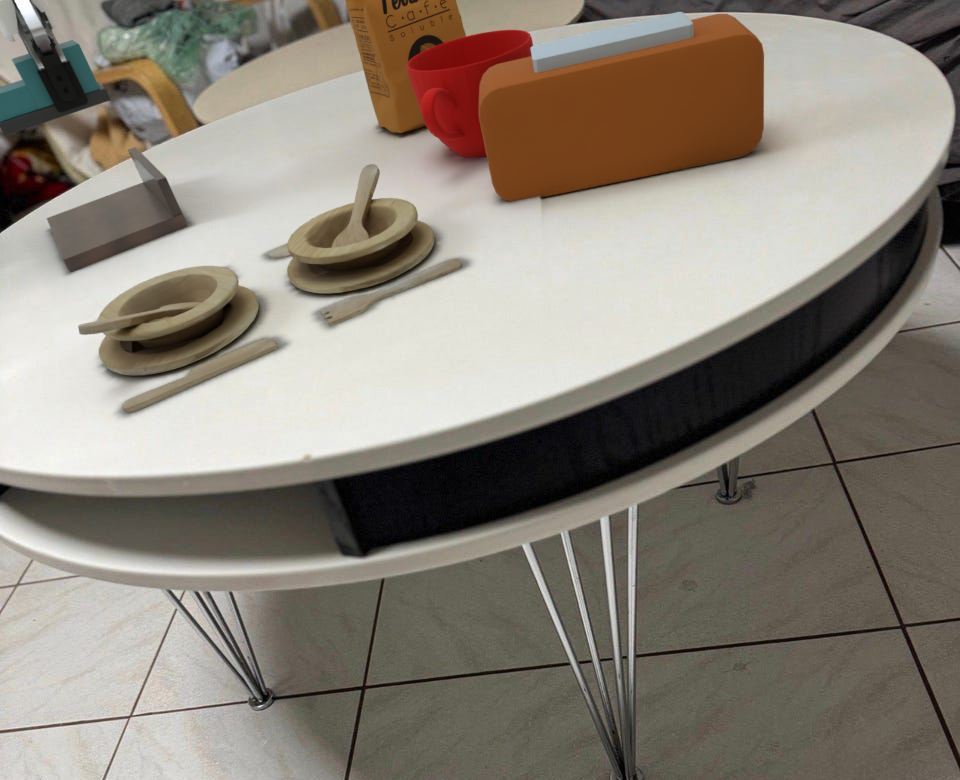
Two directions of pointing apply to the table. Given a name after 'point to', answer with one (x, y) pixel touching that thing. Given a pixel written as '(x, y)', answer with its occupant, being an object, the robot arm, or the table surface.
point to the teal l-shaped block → (43, 92)
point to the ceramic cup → (461, 84)
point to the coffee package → (399, 50)
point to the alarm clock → (622, 104)
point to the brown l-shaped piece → (118, 219)
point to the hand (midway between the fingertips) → (69, 101)
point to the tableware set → (232, 308)
